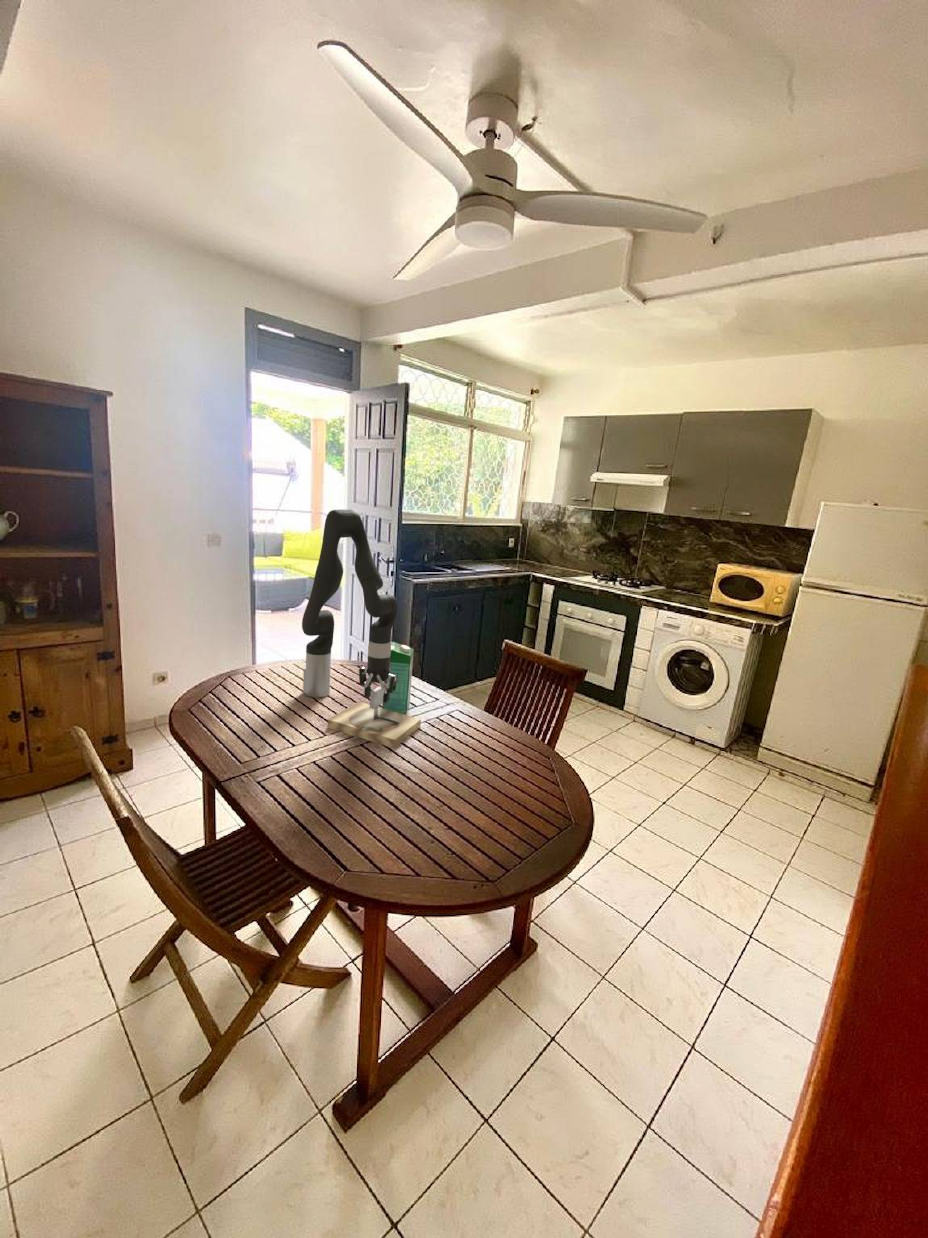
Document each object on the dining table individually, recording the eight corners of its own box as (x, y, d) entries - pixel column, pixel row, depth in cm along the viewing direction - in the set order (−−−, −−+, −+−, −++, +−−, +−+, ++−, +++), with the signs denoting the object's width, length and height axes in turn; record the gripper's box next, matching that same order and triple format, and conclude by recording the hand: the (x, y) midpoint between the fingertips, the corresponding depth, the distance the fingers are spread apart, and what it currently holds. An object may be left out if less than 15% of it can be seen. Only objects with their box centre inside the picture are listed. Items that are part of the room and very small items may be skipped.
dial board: (327, 727, 168) (327, 718, 167) (358, 709, 185) (358, 700, 184) (394, 748, 159) (394, 739, 158) (420, 727, 176) (421, 718, 175)
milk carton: (406, 714, 185) (411, 650, 179) (382, 711, 185) (386, 647, 179) (409, 704, 193) (414, 643, 187) (386, 701, 193) (390, 640, 187)
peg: (368, 721, 169) (370, 691, 166) (378, 714, 174) (380, 685, 172) (393, 728, 165) (395, 698, 163) (402, 721, 171) (404, 692, 168)
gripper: (354, 652, 165) (352, 698, 169) (392, 661, 160) (389, 709, 164) (367, 646, 171) (364, 691, 175) (403, 655, 166) (400, 701, 170)
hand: (376, 699), depth 169 cm, fingers open, 6 cm apart
